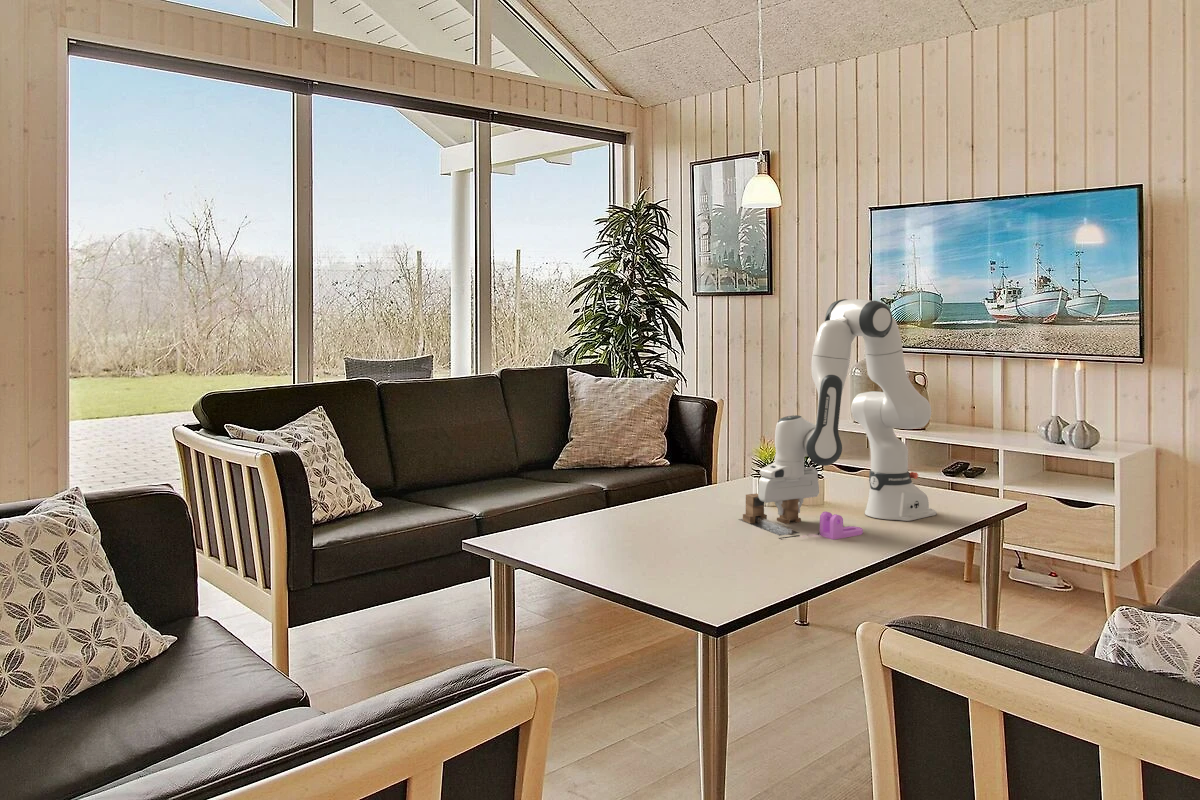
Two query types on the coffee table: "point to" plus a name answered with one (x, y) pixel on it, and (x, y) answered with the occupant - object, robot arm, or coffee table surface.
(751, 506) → the fixed finger
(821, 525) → the bracket
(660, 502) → the coffee table surface
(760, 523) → the rail
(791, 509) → the loose finger
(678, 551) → the coffee table surface
